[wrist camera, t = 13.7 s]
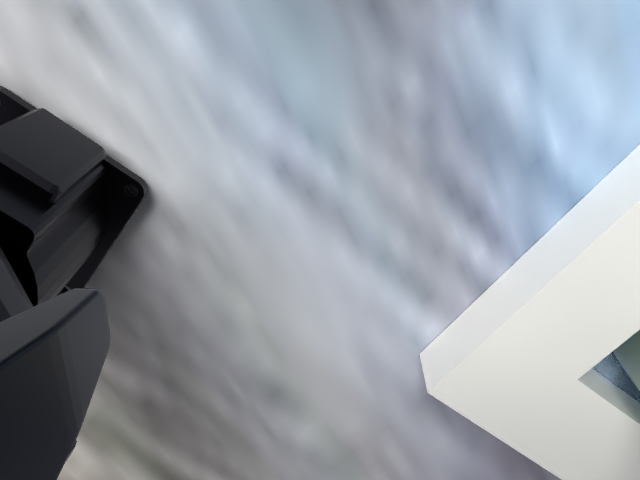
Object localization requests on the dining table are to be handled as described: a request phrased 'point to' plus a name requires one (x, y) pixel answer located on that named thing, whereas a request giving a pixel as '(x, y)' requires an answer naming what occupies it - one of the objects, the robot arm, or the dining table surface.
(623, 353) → the capped bottle
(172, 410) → the dining table surface
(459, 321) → the housing
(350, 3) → the dining table surface
